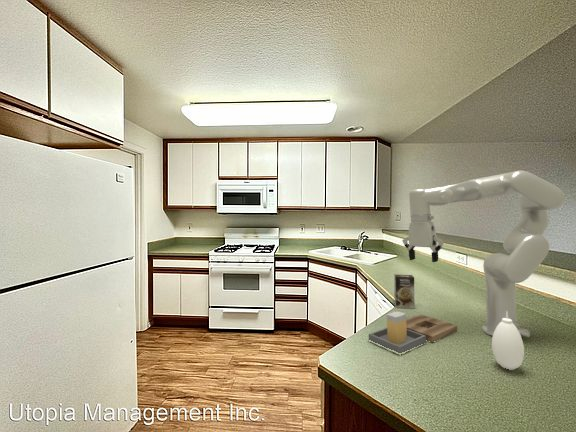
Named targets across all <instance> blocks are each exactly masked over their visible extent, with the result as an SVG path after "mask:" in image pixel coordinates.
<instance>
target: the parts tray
mask: <svg viewBox="0 0 576 432" xmlns="http://www.w3.org/2000/svg"><path fill="white" fill-rule="evenodd" d="M369 340H371V341H373V342H375V343H378V344H380V345H382V346H384V347H386V348H389V349H391V350H394V351H396V352H398V353H402V352H405V351H407V350H410V349H412V348H414V347H417V346H419V345H421V344H424V343H426V344H427V341H426V336H425V335H422V334H420V333H417V332H414V331H411V330H409V329H407V341H404V342H402V343H400V344H397V345H396V344H394V343H391V342H389V341H388V339H387V326H386V327H384V328H381V329H378V330H376V331H373V332H371V333H368V341H369Z"/></svg>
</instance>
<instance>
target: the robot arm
mask: <svg viewBox="0 0 576 432" xmlns="http://www.w3.org/2000/svg"><path fill="white" fill-rule="evenodd" d="M513 194H515V195H516V194H518V195H519V196H518V204H519V206H520V209H521V210H520V211H521V217H520V219H519V220H518V222H517V224H516V225H515V226H514V227H513V229H512V230H511V231H510V233H509V234H508V235H507V236H506V237H505V238H504V240H503V245H502V246H503V250H504V251H506V252H507V253H508V254H506V253H500V252H498V253H497V252H495V253H490V254H489V255H487V256H486V257H485V259H484V260H483V266H482V267H483V272H484V276H485V278H484V279H485V289H486V291H485V292H486V293H485V294H486V296H485V297H486V324H484V325H482V331H483V333H485V334H487V335H489V336H492V337H493V334H494V331H495V329H496V327H497V326H498V324H499V323H500V322H501V321H502V318H506V311H507V312H508V318H509V319H511V320H512V321H513V322H512V323H513V324H514V325H515V326H516V328H517V329H518V331H519V333H520V335H521V338H522V337H527V338H530V336H531V332H530V331H529V329H526V328H523V327H522V328H521V327H520V323H517V287H516V284H519V283H522V282H525V281H526V280H528V279H529V278H530V277H531V276H532V274H533V273H534V272H535V271H536V270H537V269H538V267H539V266H540V265H541V263H542V262H543V261H544V260H545V259H546V257H547V256H548V254H549V251H550V244H549V240H548V239H547V238H546V237H545V236H543V234H544V232H545V231H546V230H547V228H548V226H549V221H550V220H549V215H548V212H547V211H550V210H556V209H558V208H560V207H561V206H563V205H564V203H565V199H566V196H565V195H566V194H564V191H563V190H562V189H561V188H560V187H558V186H557V185H555V184H553V183H551V182H550V181H548V180H545V179H543V178H542V177H540V176H538V175H536V174H534V173H532V172H530V171H526V170H522V169H521V170H515V171H511V172H505V173H504V172H503V173H500V174H496V175H495V174H494V175H490V176H484V177H478V178H474V179H468V180H465V181H463V182H459V183H455V184H450V185H445V186H437V187H433V188H417V189H411V190H410V191H409V193H408V196H409V197H408V198H409V213H410V215H409V216H410V223H409V225H408V236H407V237H405V238H403V239H402V241H401V242H402V243H403V246H404V247H405V248H406V250H407V251H408V258H409V261H414V260H415V259H416V251H415V248H416V247H418V248H430V250H431V251H432V252H431V262H432V263H436V262H438V261H439V251H440V250H441V249H443V246H444V244H445V241H444V240H443V239H441V238H439V237H437V232H436V231H437V230H436V226H435V224H434V222H433V221H432V220H434V219H435V217H434V215H432V214H431V206H433V207H442V206H445V205H448V204H450V203H451V204H453V203H458V202H459V203H460V202H474V201H480V200H485V199H491V198H495V197H496V198H497V197H503V196H509V195H513Z"/></svg>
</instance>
